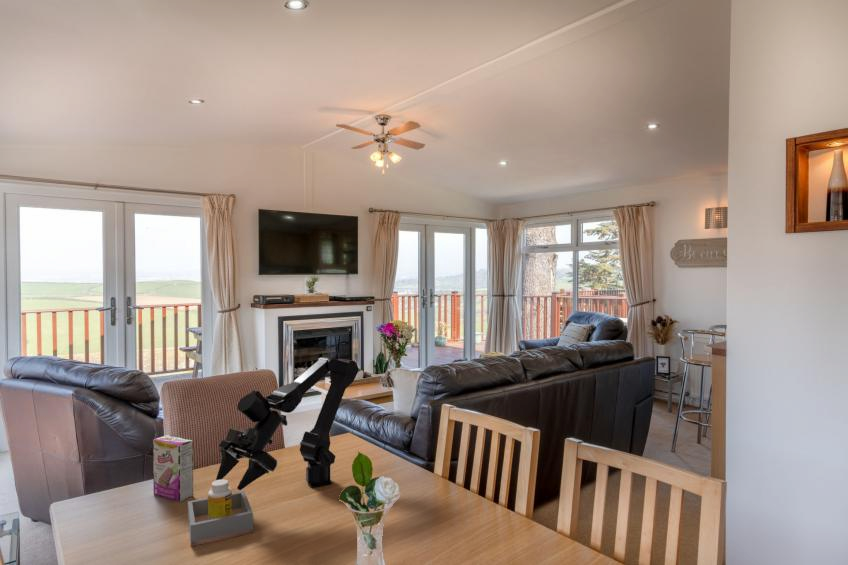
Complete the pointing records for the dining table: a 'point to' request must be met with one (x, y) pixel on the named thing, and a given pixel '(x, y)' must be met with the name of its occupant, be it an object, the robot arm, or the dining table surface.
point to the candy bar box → (173, 467)
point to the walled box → (219, 520)
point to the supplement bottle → (219, 500)
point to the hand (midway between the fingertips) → (227, 484)
